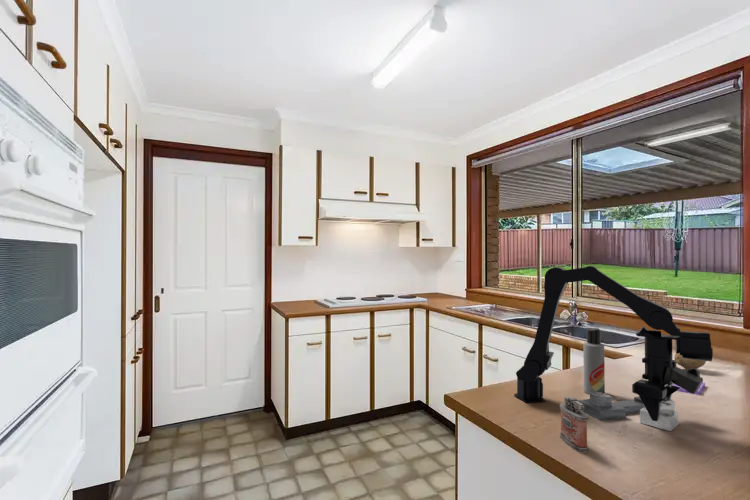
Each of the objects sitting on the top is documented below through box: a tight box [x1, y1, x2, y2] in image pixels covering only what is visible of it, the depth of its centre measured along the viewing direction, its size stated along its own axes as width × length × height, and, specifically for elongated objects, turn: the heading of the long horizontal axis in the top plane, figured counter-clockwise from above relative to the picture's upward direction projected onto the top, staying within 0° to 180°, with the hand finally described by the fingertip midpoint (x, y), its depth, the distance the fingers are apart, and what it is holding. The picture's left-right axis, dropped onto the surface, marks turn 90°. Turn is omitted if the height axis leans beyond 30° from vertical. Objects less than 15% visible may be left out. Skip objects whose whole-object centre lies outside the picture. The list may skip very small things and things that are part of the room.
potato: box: [673, 352, 707, 371], centre depth 146 cm, size 9×9×10 cm
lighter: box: [559, 395, 589, 454], centre depth 87 cm, size 8×3×10 cm, turn 5°
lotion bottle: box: [583, 327, 606, 395], centre depth 121 cm, size 6×6×20 cm
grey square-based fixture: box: [639, 398, 679, 432], centre depth 98 cm, size 6×6×6 cm
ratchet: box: [577, 392, 644, 422], centre depth 107 cm, size 24×8×5 cm, turn 104°
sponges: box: [673, 381, 706, 396], centre depth 126 cm, size 7×13×2 cm, turn 133°
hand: (658, 417), depth 98 cm, fingers closed on grey square-based fixture, 6 cm apart
